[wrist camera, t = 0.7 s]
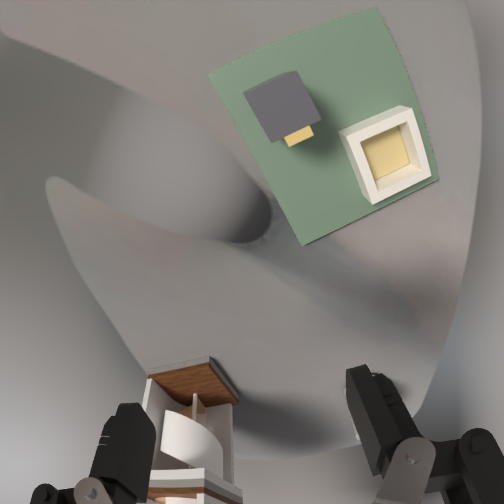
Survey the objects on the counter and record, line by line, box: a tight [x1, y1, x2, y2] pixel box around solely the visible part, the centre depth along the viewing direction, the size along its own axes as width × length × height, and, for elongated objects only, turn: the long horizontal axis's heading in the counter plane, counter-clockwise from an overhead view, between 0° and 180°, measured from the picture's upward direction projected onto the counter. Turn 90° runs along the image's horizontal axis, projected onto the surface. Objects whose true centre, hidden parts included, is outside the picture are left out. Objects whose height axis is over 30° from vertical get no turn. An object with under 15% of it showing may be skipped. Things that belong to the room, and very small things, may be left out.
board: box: [207, 7, 439, 246], centre depth 27 cm, size 20×18×4 cm
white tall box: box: [136, 356, 243, 504], centre depth 32 cm, size 11×11×35 cm
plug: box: [242, 70, 321, 147], centre depth 23 cm, size 5×4×7 cm
